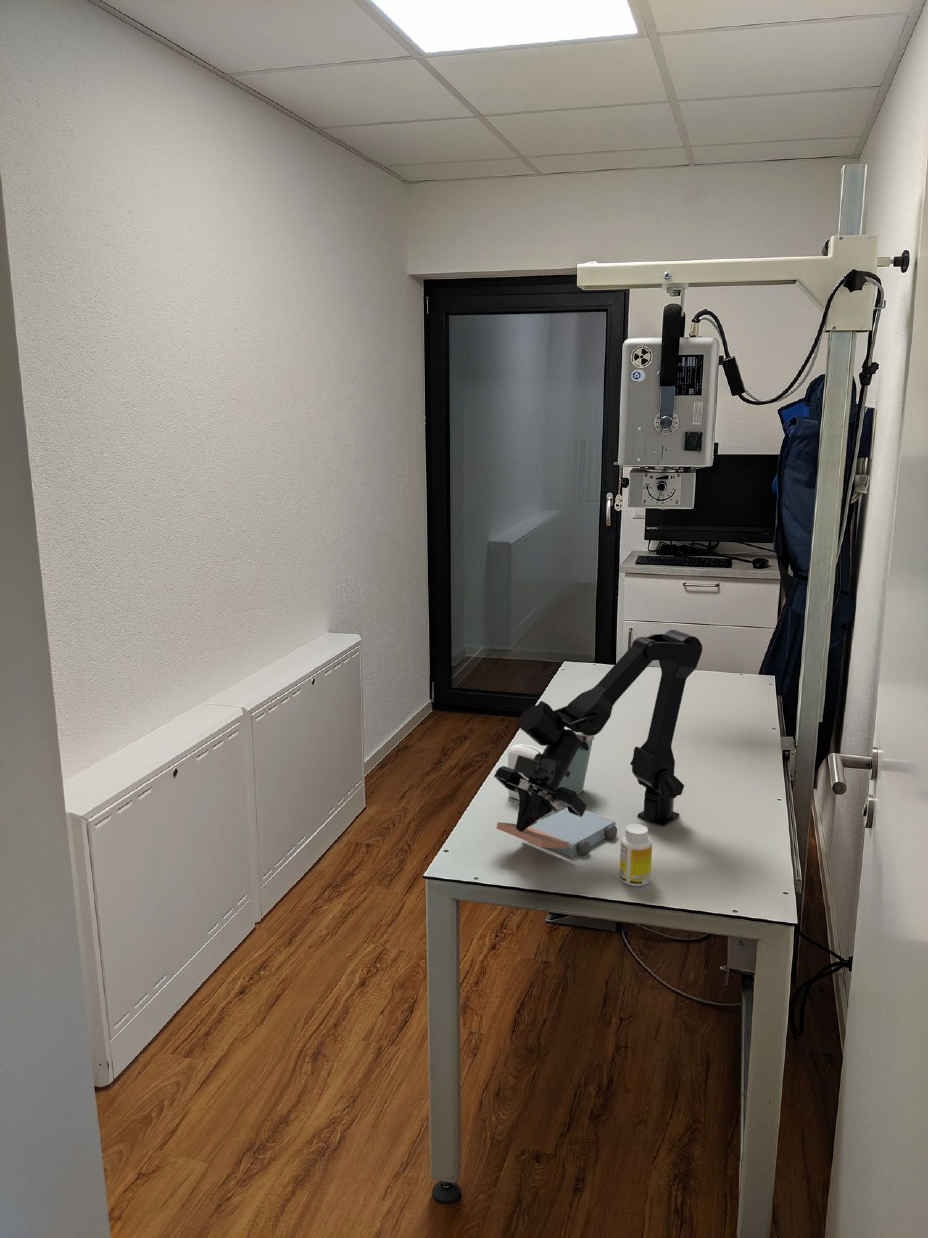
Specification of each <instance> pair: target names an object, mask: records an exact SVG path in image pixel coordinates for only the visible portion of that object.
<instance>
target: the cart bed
mask: <svg viewBox="0 0 928 1238" xmlns="http://www.w3.org/2000/svg"><path fill="white" fill-rule="evenodd" d="M556 809H557V810H556V811H555V813H554V814H551V815H550V816H547V817H545V818H543V819H542V820H540V821H536V822H534V823H533V824H532V825H530V826H529V827H532V828H534V829H537V830H539V831H542V832H544V833H547V834H549V835H552V836H554V837H557V838H559V839H562V840H564V841H567V842H569V843H571V844H573V845H574V848H573V849H570V848H568V849H564V848H550V849H552V850H555V852H559V853H560V854H564V855H566V856H568V857H571V858H574V857H575V856H577V855H579V854H580V855H581V856H586V855H587V854H589V851H590V850H591V847H593V846H595V845H596V844H598V843H600V842H601V841H604V840H605V839H609V840H613V839H615V837H616V836H617V833H618V828H617V826H616V821H615V820H613V819H611V818H609V817H605V816H602V815H600V814H597V813H594V812H593V811H589V810H587V809H586V810H585V812H584V814H583V816H582V817H579V816H577V815H574V814H571V813H570V812H569V811H568V808H567V807H564V806H562V805H560V806H558V807H557V808H556Z"/></svg>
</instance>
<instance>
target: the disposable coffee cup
mask: <svg viewBox="0 0 928 1238" xmlns="http://www.w3.org/2000/svg"><path fill="white" fill-rule="evenodd" d="M564 729H566V730H567V729H569V728H567V727H564ZM569 730H571V729H569ZM575 733H576V732H575ZM576 734H577V735H580V736H585V737H586V741H587V744H588V747H589V750H588V751H586V750H581V749H578V751H577V753H576V755H575V757H574V759H573V761H572V763H571V765H570V767H569V769H568V771H569V772H570V775H569V777H565V776H564V778H563V780H562V782H561V784H560V786H559V787H564V788H567V789H569V790H572V791H575V792H576V793H577V794H578V795H580V794H581V793H582V791H583V789H584V785H585V780H586V777H587V776H586V775H587V772H588V765H589V760H590V756H591V750H592V745H593V741H594V740H595V735H591V736H588V735H584V734H583V733H581V732H578V733H576Z"/></svg>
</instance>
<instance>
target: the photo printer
mask: <svg viewBox="0 0 928 1238" xmlns="http://www.w3.org/2000/svg"><path fill="white" fill-rule="evenodd" d="M543 751H544V750H542V749H539V748H537V747H535V746H533V745H530V744H522V743H521V744H514V745H512V746H510V748H509V750H508V754H507V763H508V764H507V767H508V768H511V769H514V767H515V764H516V760H517V757H518V755H521V756H525V757H529V758H533V759H534V757H535V756H536V754H538V753H540V754H542V753H543ZM519 773H520V772H519ZM520 774H521V775H522V776H523V777H524V778H525V779H526V780H529V779H528V778H527V777H525V776H524V775H523V773H520ZM533 788H534V787H533ZM535 789H537V788H535ZM507 790H508V791H507V792H508V793H507V794H508V796H509V797H511V798H513V799H515V800H518V801H519V794H518V793H516V792H514V791H511V790H509V789H507ZM543 792H545V791H543ZM545 793H547V792H545Z"/></svg>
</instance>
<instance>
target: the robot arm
mask: <svg viewBox="0 0 928 1238" xmlns="http://www.w3.org/2000/svg"><path fill="white" fill-rule="evenodd" d="M631 643H632V645H631V646H630V648H629V649H628V650H627V651H626V652H625V653H624V654H623V655H622V657H620V658H619V659H618V661H617V662H616V663H615V664H614V665H613V666H612V667H611V668H610V669H609V671H608V672H606V674H605V675H604V676H603V677H602V678H601V680H600V681H599V682H598V683H597V684H596V685H595V686H593V687H592V688H591V689H588V690H586V691H584V692H581V693H579V695H577V696H576V697H575V698H573V700H571V701H570V702H569V703H568V704H567V705H565V706H562V707H561V708H557V709H554V710H553V708H552V707H551V705H550V704H548V703H546V702H545V701H543V700H540V701H539V702H538V703H537V704H535V705H532V706H530V707H529V708H528V709H526V710H524V711H523V713H521V716H520V717H519V722H518V727H519V729H520V730H521V731H523V732H524V733H525V734H526V735H527V736H529V737H530V738H531V739H532V740H533V741H534V742H535V743H537V744H538V745H539V746H541V747H545V748H544V750H542V751H543V753H542V754H540V753H538V754H536V756H535V757H534V759H533V758H529V757H525V756H521V755H518V757H517V760H516V764H515V767H514V769H511V768H508V766H505V765H503V766H500V767H498V768H497V770H496V771H495V774H494V775H493V777H494V778H495V779H496V780H497V781H498V782H499V783H500V785H502V786H503V787H505V788H506V789H507V790H508V789H509V790H511V791H514V792H516V793H518V794H519V800H518V801H519V805H518V813H517V818H516V819H517V820H516V824H517V825H516V829H517V830H518V831H520V832H522V831H524V830H525V829H526V828H528V827H529V826H530V825H532V824H533V823H534V822H538V820H540V819H541V818H543V817H545V816H546V815H548V814H550V813H551V812H556V810H557V808H556V806H557V804H558V803H559V804H562V805H564V806H567V807H566V808H568V811H569V812H570V813H571V814H574V815H577V816H579V817H582V816H583V814H584V812H585V810H587V804H586V801H585V800H584V799H583V797H581V795H580V794H577V793H576V792H575V791H572V790H569V789H567V788H564V787H559V786H560V784H561V782H562V780H563V778H564V776H565V777H569V775H570V772H569V771H568V769H569V767H570V765H571V763H572V761H573V759H574V757H575V755H576V753H577V751H578V749H581V750H586V751H588V750H589V747H588V744H587V741H586V737H585V736H580V735H577V734H576V733H578V732H581V733H583V734H584V735H588V736H591V735H594V736H596V735H598V734H599V733H601V732H602V730H603V728H604V727H605V725H606V724H607V723H608V721H609V719H610V718H611V716H612V711H613V707H614V706H615V704H616V703H617V701H618V700H619V699H620V698H621V697H622V696H623V694H625V692H626V691H627V690H628V689H629V688H630V687H631V686H632V685H633V683H634V682H635V681H636V680H637V679H638V677H640V676H641V674H642V673H643V672H644V671H645V670H646V669H647V668H648V666H650V664H651V663H652V662H653V661H658V663H659V667H660V671H661V676H660V681H659V685H658V689H657V693H656V694H657V695H656V697H655V704H654V708H653V711H652V715H651V716H652V717H651V721H650V725H649V730H648V735H647V738H646V740H645V742H644V743H643V744H642V745H641V746H635V747H634V749H633V755H632V759H631V762H630V764H629V765H630V766H631V772H632V774H633V775H634V777H635V778H636V780H637V782H638V785H641V786H642V787H644V788H645V791H644V800H643V810H641V812H638V813H637V817H638V818H639V819H642V820H645V821H648V822H651V823H653V824H656V825H659V826H666V825H667V824H670V823H671V822H672V821H674V820H675V819H678V818H679V817H680V813H679V812H676V811H674V803H675V802H674V801H675V800H674V799H676V798H677V796H681V795H682V794H683V791H684V788H685V785H684V783H683V782H682V781H680V780H679V779H678V777H677V776H676V775H675V769H676V768H675V766H676V760H675V757H674V752H673V748H672V745H673V739H674V735H675V730H676V725H677V722H678V719H679V718H678V717H679V713H680V708H681V704H682V700H683V695H684V690H685V685H686V683H687V682H686V681H687V679H688V677H690V676H691V675H692V673H693V672H694V671H695V670H696V668H697V667H698V664H699V661H700V660H701V655H702V653H703V644H702V643H701V641H700V639H699V638H698V637H697V636H693V635H690V634H688V633H685V632H682V631H680V630H677V629H670V630H668V631H666V632H665V633H655V634H650V635H648V636H639V637H636V638H635V639H634V640H633V641H632V642H631ZM564 727H567V728H569V729H571V730H569V729H567V730H566V729H564ZM575 732H576V733H575ZM519 772H520V773H523V775H524V776H525V777H527V778H528V779H529V780H526V779H525V778H524V777H523V776H522V775H521V774H520V773H519ZM533 787H534V788H533ZM535 788H537V789H535ZM543 791H545V792H547V793H545V792H543Z"/></svg>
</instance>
